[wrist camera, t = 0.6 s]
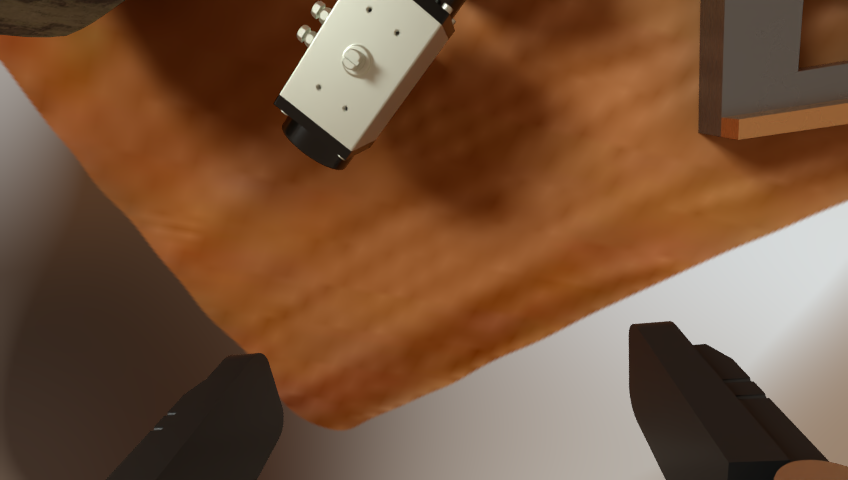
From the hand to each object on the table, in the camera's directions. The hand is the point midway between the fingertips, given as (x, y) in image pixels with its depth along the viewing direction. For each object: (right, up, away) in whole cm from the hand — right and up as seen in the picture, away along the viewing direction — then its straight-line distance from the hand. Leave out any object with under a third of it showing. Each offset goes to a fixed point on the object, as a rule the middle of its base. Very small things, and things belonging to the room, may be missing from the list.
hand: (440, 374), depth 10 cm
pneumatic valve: (-3, +16, +23) cm, 28 cm away
